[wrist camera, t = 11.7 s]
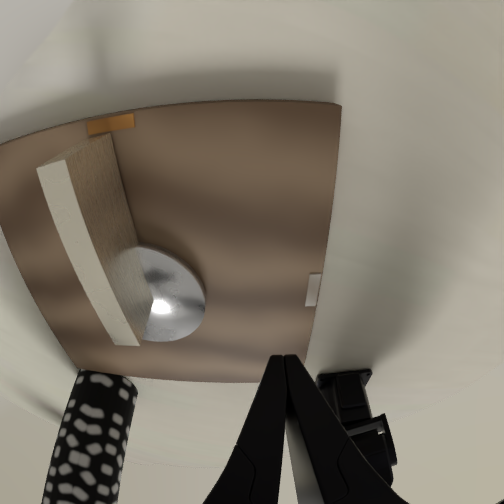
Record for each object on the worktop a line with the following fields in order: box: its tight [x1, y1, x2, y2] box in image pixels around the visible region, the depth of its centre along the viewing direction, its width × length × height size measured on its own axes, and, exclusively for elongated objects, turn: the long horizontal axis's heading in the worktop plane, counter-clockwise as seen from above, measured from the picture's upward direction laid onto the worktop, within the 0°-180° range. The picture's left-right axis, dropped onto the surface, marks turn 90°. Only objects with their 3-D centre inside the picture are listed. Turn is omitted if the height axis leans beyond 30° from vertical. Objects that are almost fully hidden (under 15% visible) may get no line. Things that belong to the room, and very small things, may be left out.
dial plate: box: [0, 99, 342, 383], centre depth 21 cm, size 25×25×2 cm
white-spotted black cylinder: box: [41, 369, 138, 504], centre depth 24 cm, size 8×8×20 cm
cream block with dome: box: [36, 133, 206, 346], centre depth 16 cm, size 16×9×5 cm, turn 5°
